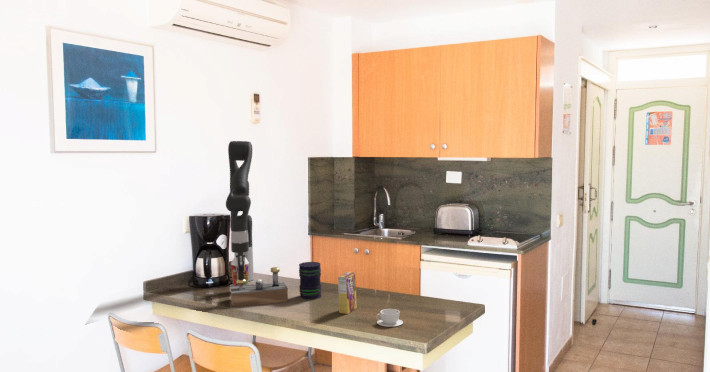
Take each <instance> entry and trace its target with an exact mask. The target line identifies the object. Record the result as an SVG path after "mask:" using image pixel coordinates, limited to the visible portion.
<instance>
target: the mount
mask: <svg viewBox="0 0 710 372" xmlns="http://www.w3.org/2000/svg"><path fill="white" fill-rule="evenodd" d="M288 293H289V291H288V287H287V284H286V283H285V282H284V281H280V282H279V281H278V286H277V287H273V282H267V283H263V289H262V290H256V283H253V284H248V285H244V289H240V290H239V285H238V286H233V285H230V301H231V307H240V306H241V307H242V306H255V305H265V304H277V303H278V304H279V303H287V302H289V299H288V298H289V295H288Z"/></svg>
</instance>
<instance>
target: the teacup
mask: <svg viewBox="0 0 710 372" xmlns="http://www.w3.org/2000/svg"><path fill="white" fill-rule="evenodd" d="M399 318H400V310H398V309H396V308H385V309H381V310H380V311H379V313H377V314H376V319H377V322H376V323H377V325H379V326H382V327H389V328H390V327H398V326H401V325H403V323H404V321H403V320H402V319H399ZM388 324H389V325H388Z"/></svg>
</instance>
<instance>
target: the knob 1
mask: <svg viewBox="0 0 710 372" xmlns="http://www.w3.org/2000/svg"><path fill="white" fill-rule="evenodd" d="M245 283H246V279H244V280H239V279H237V284H239V290H240V289H244V284H245Z"/></svg>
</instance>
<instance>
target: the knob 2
mask: <svg viewBox="0 0 710 372" xmlns="http://www.w3.org/2000/svg"><path fill="white" fill-rule="evenodd" d="M280 269H281V268H280V267H278V266H275V267H274V266H273V267H270V272H271V273H272V283H273V287H277V286H278V282H279V273H280V272H281V270H280Z"/></svg>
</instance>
